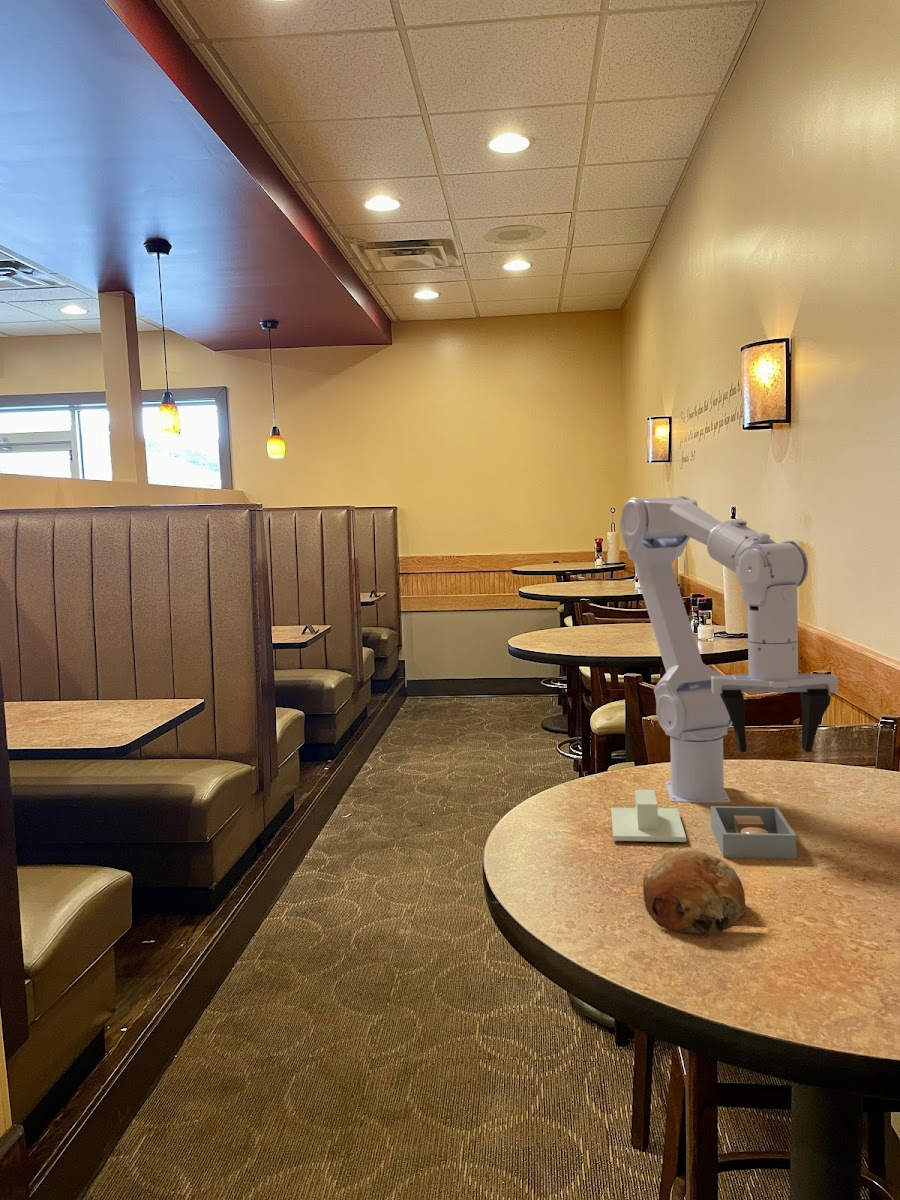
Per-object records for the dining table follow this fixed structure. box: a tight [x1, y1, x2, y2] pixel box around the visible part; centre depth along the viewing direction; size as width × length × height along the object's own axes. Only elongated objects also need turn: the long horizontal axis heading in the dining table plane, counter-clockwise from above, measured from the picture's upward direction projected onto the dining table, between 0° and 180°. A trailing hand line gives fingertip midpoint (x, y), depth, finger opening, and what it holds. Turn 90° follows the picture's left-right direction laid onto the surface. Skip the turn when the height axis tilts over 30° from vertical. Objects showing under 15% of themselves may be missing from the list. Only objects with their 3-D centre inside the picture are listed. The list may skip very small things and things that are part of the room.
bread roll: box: [642, 849, 746, 935], centre depth 85 cm, size 10×10×8 cm
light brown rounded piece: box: [741, 827, 768, 833], centre depth 100 cm, size 3×3×2 cm
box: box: [710, 805, 798, 860], centre depth 102 cm, size 10×8×3 cm
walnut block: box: [734, 816, 764, 833], centre depth 103 cm, size 3×3×2 cm
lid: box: [610, 789, 687, 843], centre depth 108 cm, size 11×9×5 cm
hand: (774, 750), depth 105 cm, fingers open, 7 cm apart
